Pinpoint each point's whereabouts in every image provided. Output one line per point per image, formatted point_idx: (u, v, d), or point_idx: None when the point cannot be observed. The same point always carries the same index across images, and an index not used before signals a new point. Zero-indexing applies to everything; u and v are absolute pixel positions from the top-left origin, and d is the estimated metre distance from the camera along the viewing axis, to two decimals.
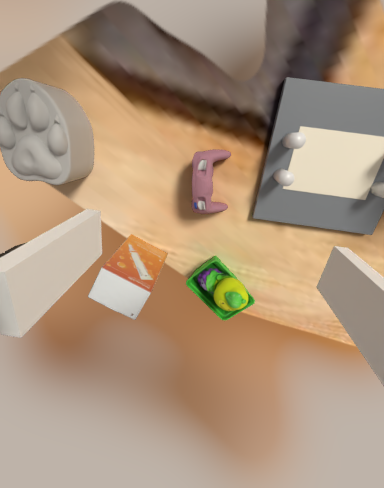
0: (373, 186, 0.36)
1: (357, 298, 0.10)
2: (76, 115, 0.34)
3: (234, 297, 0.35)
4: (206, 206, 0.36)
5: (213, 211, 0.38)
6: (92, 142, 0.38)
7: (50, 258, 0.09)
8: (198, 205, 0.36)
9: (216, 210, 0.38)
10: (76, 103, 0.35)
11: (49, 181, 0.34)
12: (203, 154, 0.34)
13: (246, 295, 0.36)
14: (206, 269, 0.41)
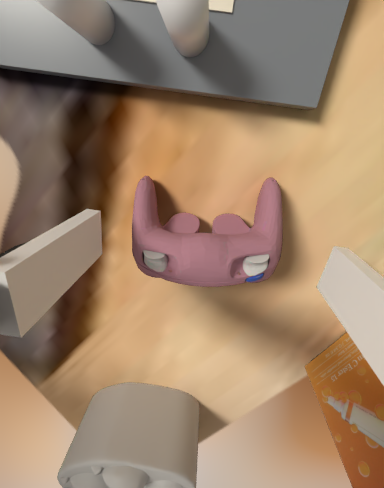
0: None
1: (357, 298, 0.10)
2: (106, 413, 0.24)
3: None
4: (259, 252, 0.13)
5: (277, 226, 0.14)
6: (147, 387, 0.26)
7: (50, 258, 0.09)
8: (255, 273, 0.13)
9: (276, 216, 0.14)
10: (100, 397, 0.26)
11: None
12: (134, 254, 0.15)
13: None
14: None
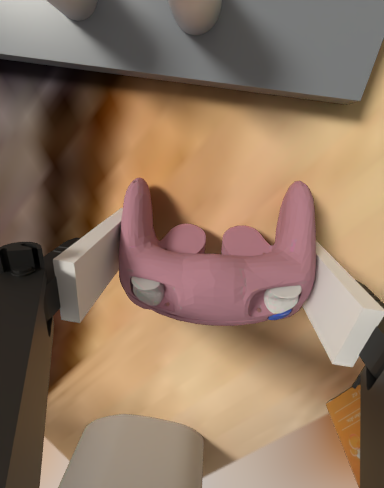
0: None
1: None
2: (98, 453, 0.21)
3: None
4: (288, 283, 0.10)
5: (311, 246, 0.10)
6: (145, 421, 0.23)
7: (101, 252, 0.10)
8: (281, 310, 0.10)
9: (309, 233, 0.11)
10: (93, 430, 0.23)
11: None
12: (121, 279, 0.11)
13: None
14: None
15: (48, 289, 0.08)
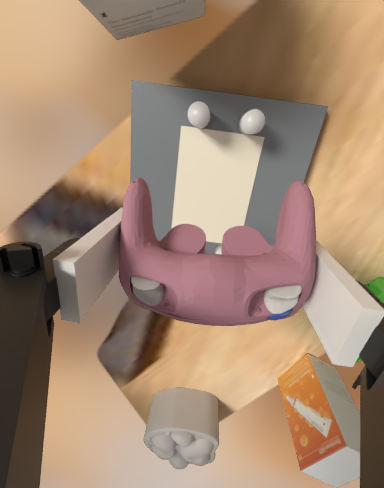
0: (244, 133, 0.25)
1: None
2: (167, 405, 0.43)
3: None
4: (288, 283, 0.10)
5: (311, 246, 0.10)
6: (188, 390, 0.45)
7: (101, 252, 0.10)
8: (281, 310, 0.10)
9: (309, 233, 0.10)
10: (161, 395, 0.45)
11: (215, 447, 0.40)
12: (121, 279, 0.11)
13: None
14: None
15: (48, 289, 0.08)
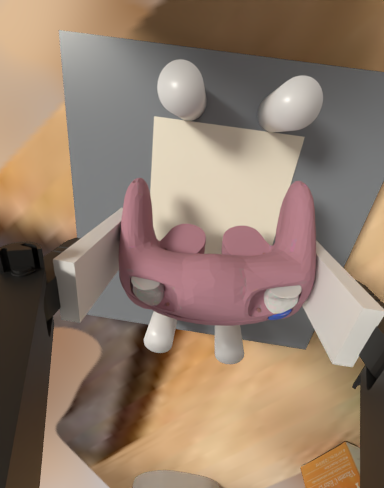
0: (268, 130, 0.13)
1: None
2: None
3: None
4: (288, 283, 0.10)
5: (311, 246, 0.10)
6: (180, 475, 0.33)
7: (101, 252, 0.10)
8: (281, 310, 0.10)
9: (309, 233, 0.10)
10: (143, 482, 0.34)
11: None
12: (121, 279, 0.11)
13: None
14: None
15: (48, 289, 0.08)
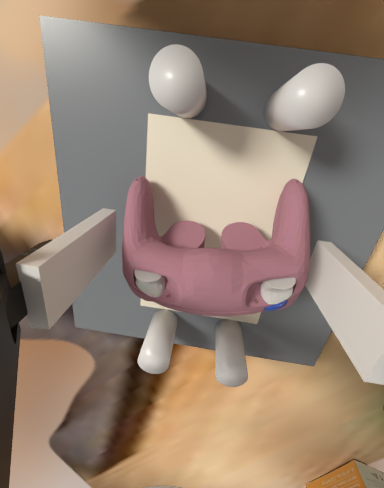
0: (277, 129, 0.12)
1: (336, 288, 0.11)
2: None
3: None
4: (283, 275, 0.10)
5: (305, 240, 0.11)
6: None
7: (74, 255, 0.10)
8: (277, 301, 0.10)
9: (303, 228, 0.11)
10: None
11: None
12: (124, 273, 0.12)
13: None
14: None
15: (11, 294, 0.08)
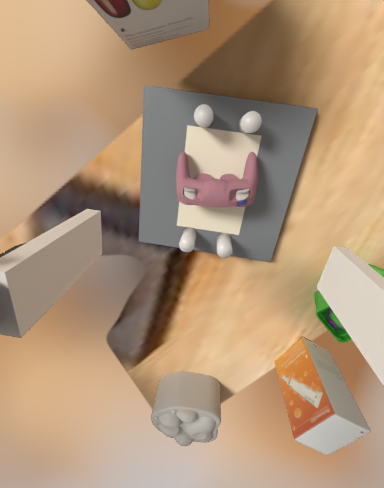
0: (243, 132, 0.28)
1: (357, 298, 0.10)
2: (172, 387, 0.46)
3: None
4: (244, 187, 0.26)
5: (254, 175, 0.27)
6: (192, 374, 0.48)
7: (50, 258, 0.09)
8: (242, 199, 0.26)
9: (253, 170, 0.27)
10: (166, 379, 0.48)
11: (217, 425, 0.43)
12: (178, 191, 0.27)
13: None
14: (327, 320, 0.34)
15: None
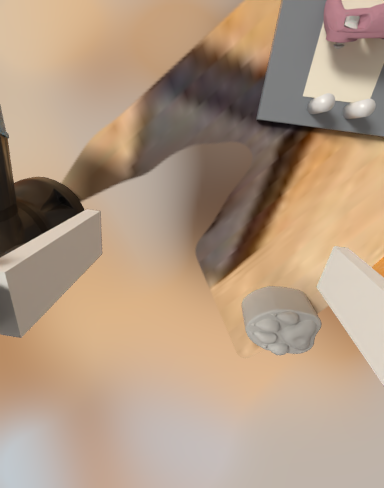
0: None
1: (357, 298, 0.10)
2: (265, 297, 0.45)
3: None
4: None
5: None
6: (281, 288, 0.47)
7: (50, 258, 0.09)
8: None
9: None
10: (254, 294, 0.47)
11: (317, 330, 0.42)
12: (336, 25, 0.26)
13: None
14: None
15: None
